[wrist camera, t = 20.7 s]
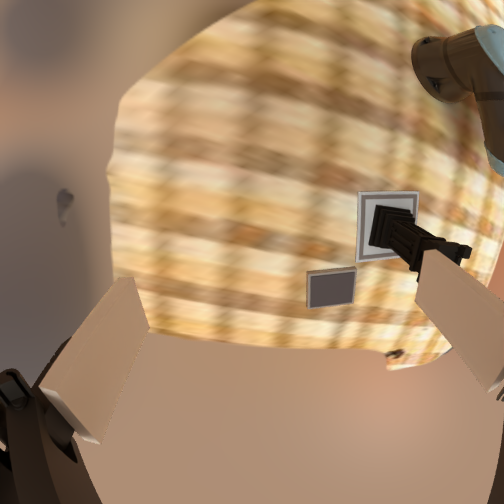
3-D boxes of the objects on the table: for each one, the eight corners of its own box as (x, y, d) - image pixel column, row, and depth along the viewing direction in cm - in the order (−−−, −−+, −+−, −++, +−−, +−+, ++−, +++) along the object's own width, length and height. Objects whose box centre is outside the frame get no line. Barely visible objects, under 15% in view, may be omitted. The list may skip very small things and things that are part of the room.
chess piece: (368, 244, 49) (421, 297, 31) (375, 204, 46) (438, 241, 28) (400, 247, 50) (457, 295, 31) (408, 209, 47) (474, 245, 28)
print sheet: (357, 191, 46) (358, 192, 45) (418, 191, 46) (419, 191, 45) (355, 262, 51) (356, 263, 51) (412, 255, 51) (413, 256, 50)
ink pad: (306, 271, 52) (308, 275, 50) (354, 266, 52) (357, 269, 50) (306, 306, 55) (307, 310, 53) (351, 300, 55) (353, 304, 53)
